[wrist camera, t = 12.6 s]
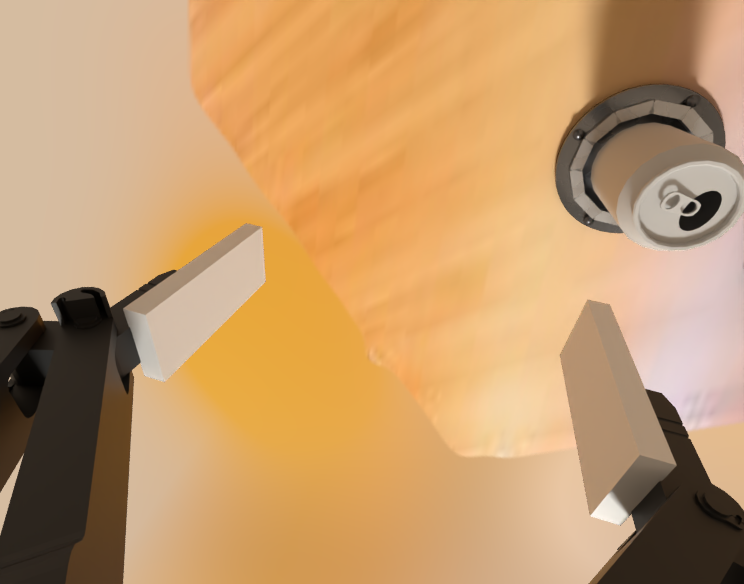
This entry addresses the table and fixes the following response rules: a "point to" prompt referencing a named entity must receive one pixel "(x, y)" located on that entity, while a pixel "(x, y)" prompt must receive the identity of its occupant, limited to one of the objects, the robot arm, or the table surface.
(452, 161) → the table surface
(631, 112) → the flange socket
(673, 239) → the can
